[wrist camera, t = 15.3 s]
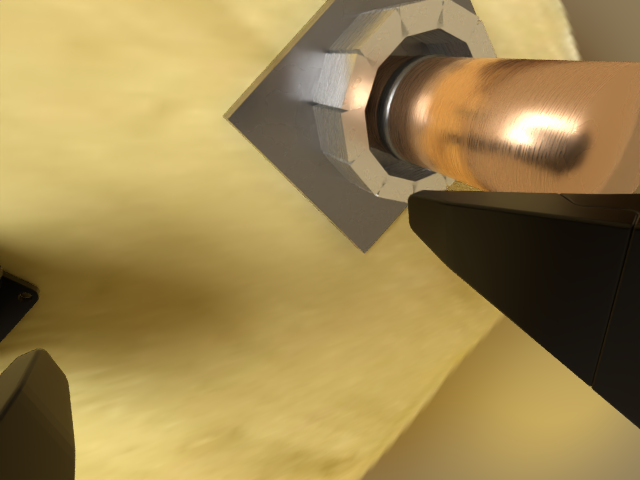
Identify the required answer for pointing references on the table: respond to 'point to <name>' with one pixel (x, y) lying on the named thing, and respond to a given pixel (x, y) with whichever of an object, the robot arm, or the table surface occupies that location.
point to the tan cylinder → (511, 121)
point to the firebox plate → (295, 129)
